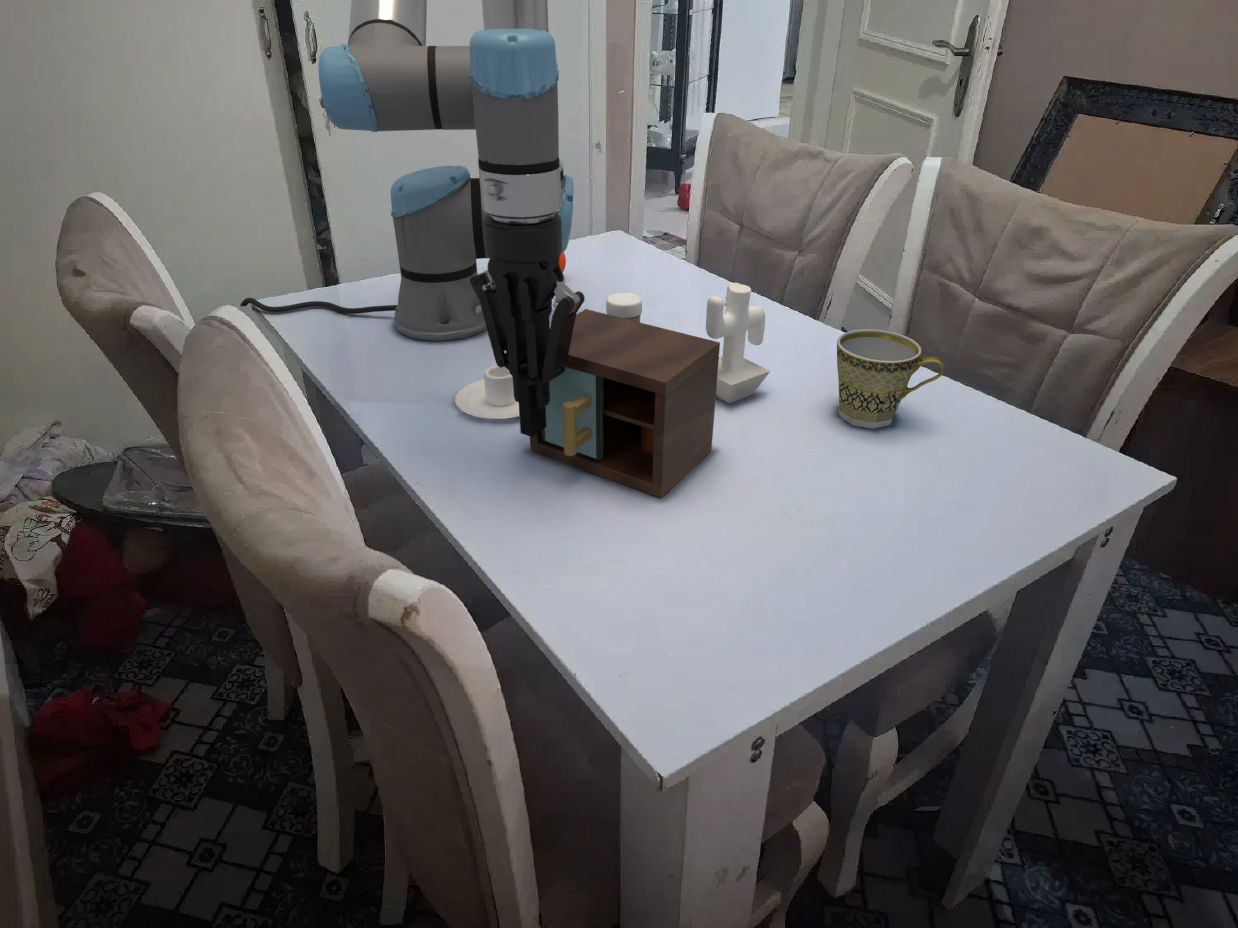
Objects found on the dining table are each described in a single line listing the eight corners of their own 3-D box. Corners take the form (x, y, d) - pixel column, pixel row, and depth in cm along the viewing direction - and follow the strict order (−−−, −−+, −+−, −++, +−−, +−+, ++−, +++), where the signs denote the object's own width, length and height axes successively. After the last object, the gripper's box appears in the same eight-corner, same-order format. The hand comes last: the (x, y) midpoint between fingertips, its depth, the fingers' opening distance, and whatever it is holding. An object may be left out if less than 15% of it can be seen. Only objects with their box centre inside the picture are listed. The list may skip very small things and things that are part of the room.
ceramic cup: (820, 427, 102) (832, 354, 97) (831, 393, 110) (842, 324, 105) (928, 446, 99) (947, 371, 93) (931, 410, 107) (948, 338, 101)
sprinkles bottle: (646, 395, 110) (649, 299, 103) (618, 403, 107) (619, 306, 100) (627, 382, 113) (629, 289, 106) (599, 390, 111) (599, 295, 104)
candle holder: (526, 429, 101) (524, 398, 99) (439, 415, 104) (435, 385, 102) (560, 388, 111) (559, 359, 109) (479, 376, 114) (477, 348, 112)
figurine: (773, 393, 110) (786, 286, 102) (722, 413, 106) (731, 302, 98) (736, 374, 115) (745, 271, 107) (685, 392, 110) (691, 285, 103)
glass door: (519, 455, 93) (513, 372, 87) (545, 437, 96) (541, 356, 91) (578, 477, 89) (576, 391, 83) (603, 457, 92) (602, 374, 87)
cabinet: (530, 451, 97) (523, 342, 90) (587, 411, 106) (586, 308, 98) (660, 498, 89) (665, 382, 81) (711, 451, 97) (720, 342, 90)
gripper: (443, 211, 78) (465, 428, 90) (553, 233, 72) (561, 461, 84) (494, 196, 83) (509, 402, 96) (600, 215, 77) (601, 432, 90)
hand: (533, 429), depth 90 cm, fingers closed
